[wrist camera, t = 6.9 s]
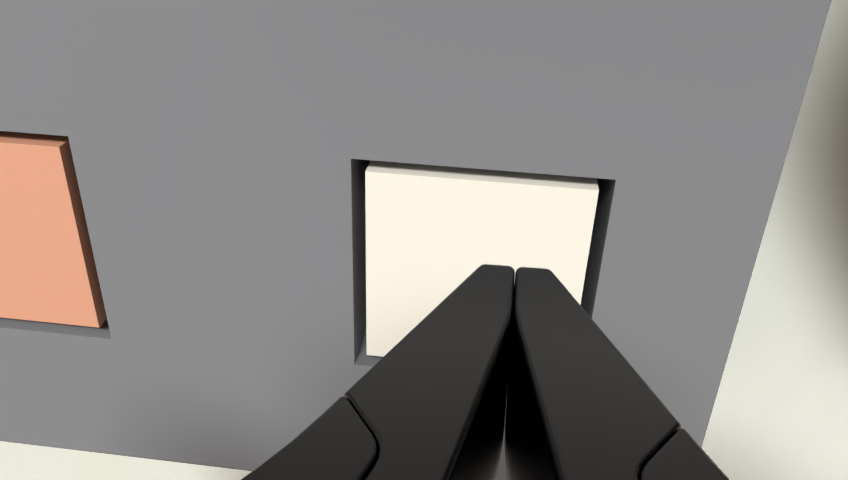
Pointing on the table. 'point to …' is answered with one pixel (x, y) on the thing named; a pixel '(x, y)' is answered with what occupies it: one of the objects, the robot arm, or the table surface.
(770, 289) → the table surface
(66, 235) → the terracotta key
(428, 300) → the ivory key
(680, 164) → the key console
